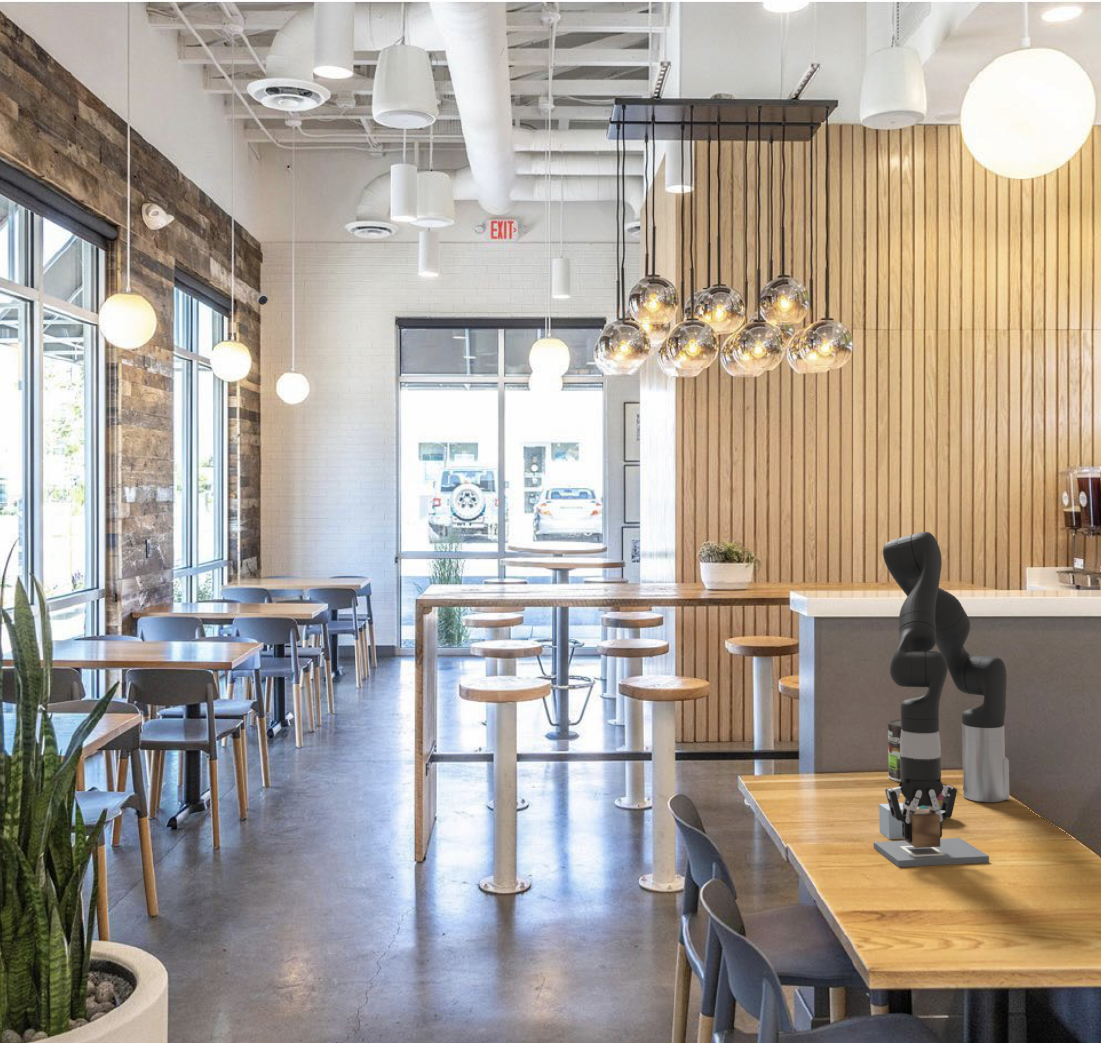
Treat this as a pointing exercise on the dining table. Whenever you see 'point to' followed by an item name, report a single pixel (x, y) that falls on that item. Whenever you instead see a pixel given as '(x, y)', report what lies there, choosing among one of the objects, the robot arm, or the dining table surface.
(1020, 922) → the dining table surface
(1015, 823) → the dining table surface
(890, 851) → the grey flat plate
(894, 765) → the coffee can
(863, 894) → the dining table surface
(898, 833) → the greyblue block
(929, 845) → the walnut block
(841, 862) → the dining table surface
